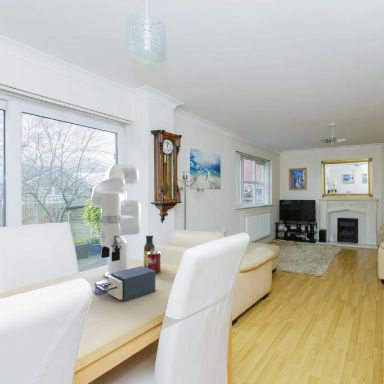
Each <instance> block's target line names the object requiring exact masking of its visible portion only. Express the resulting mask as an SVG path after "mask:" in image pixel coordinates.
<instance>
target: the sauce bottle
mask: <svg viewBox="0 0 384 384" xmlns="http://www.w3.org/2000/svg"><path fill="white" fill-rule="evenodd" d="M153 238H154V235H153V234H145V242H146V243H145V244H144V246H143V267H146V268H147V254H148V252H152V251H156V246H155V244H154V243H153V242H154V241H153Z"/></svg>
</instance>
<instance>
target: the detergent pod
mask: <svg viewBox="0 0 384 384" xmlns="http://www.w3.org/2000/svg"><path fill="white" fill-rule="evenodd" d="M106 284H108V280H106V279H104V280H100V281H96V282H94V293H96V294H97V295H102V294H106V293H108V291H106V292H105V293H103V292H101V291H99V290H98V289H96V286H102V285H106ZM102 288H104V289H105V290H106V289H108V286H105V287H102Z"/></svg>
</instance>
